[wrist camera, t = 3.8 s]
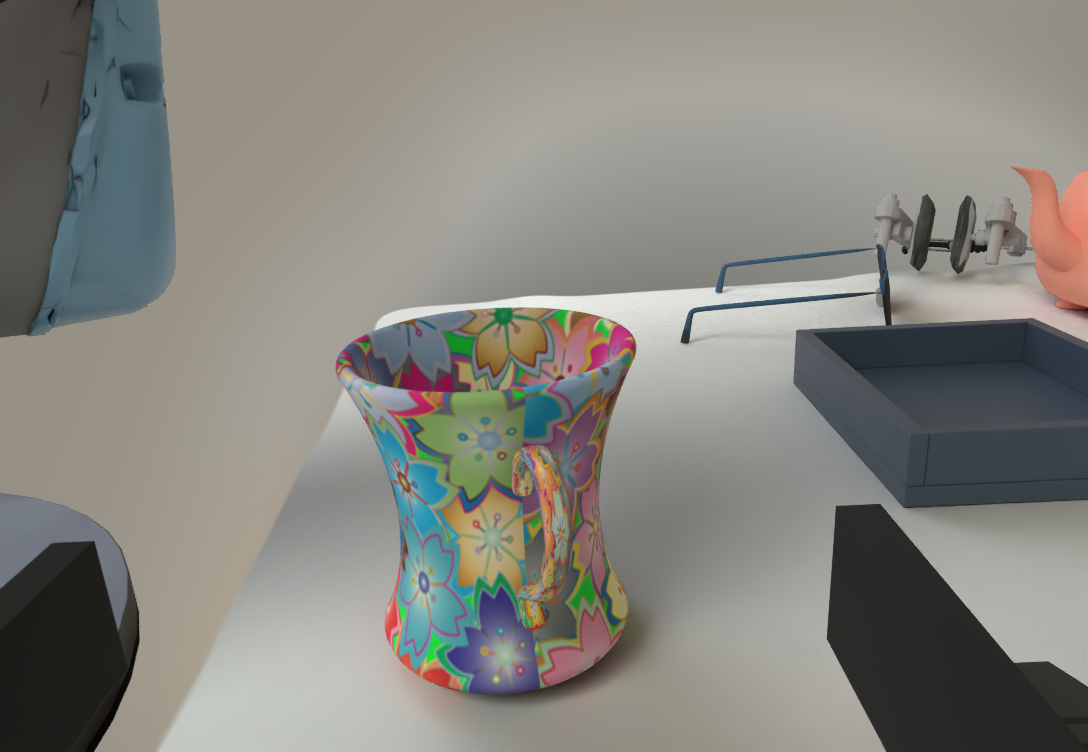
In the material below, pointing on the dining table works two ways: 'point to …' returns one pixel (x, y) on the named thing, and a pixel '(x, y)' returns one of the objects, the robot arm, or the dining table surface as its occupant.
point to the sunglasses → (881, 297)
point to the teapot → (1060, 236)
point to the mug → (496, 490)
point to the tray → (956, 407)
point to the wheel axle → (918, 237)
